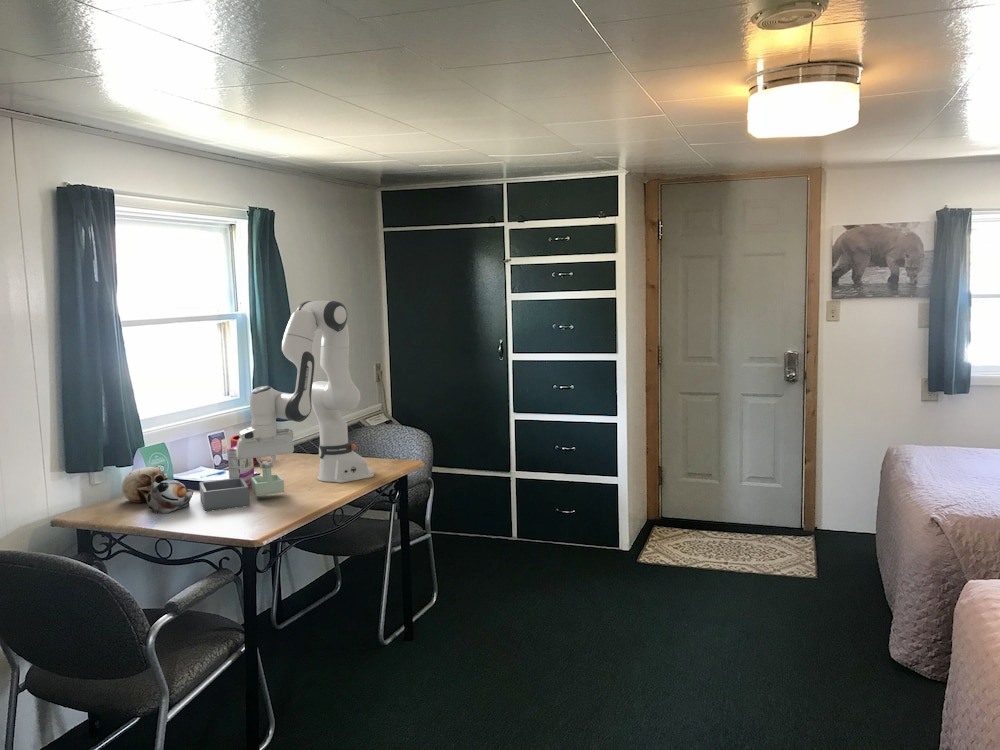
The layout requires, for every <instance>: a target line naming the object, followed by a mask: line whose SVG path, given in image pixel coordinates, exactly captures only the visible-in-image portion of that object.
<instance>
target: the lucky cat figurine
mask: <svg viewBox="0 0 1000 750" xmlns="http://www.w3.org/2000/svg"><path fill="white" fill-rule="evenodd" d="M151 489H152V491H151V492H150V493H149V494H148V498H147V501H146V503H147V502H148V504H147V507H148V509H149V510H151V511H152V512H153V513H154V514H169V513H170V512H174V511H176V510H178V509H182V508H185V507H189V506H190V501H191V500H192V498H193V495H194V489H191V488H187V487H186V486H185V484H184V483H182V482H180V481H178V480H177V479H176V480H175V479H168V480H166V481H162V482H160V483H157V482H154V483H153V484H152V488H151Z"/></svg>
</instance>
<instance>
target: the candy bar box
mask: <svg viewBox="0 0 1000 750" xmlns="http://www.w3.org/2000/svg"><path fill="white" fill-rule="evenodd" d="M227 464H228V476H229V477H228V479H234V478H243V480H244V481H245V483H246V484H247V486H248V488H250V487H252V482H251V477H255V464H254V463H253V458H248V459H239V458H238V457H237V446H235V447H232V448H231V447H230V448H228V449H227Z"/></svg>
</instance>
